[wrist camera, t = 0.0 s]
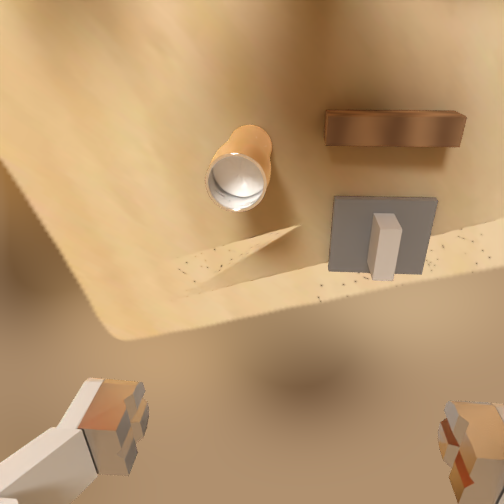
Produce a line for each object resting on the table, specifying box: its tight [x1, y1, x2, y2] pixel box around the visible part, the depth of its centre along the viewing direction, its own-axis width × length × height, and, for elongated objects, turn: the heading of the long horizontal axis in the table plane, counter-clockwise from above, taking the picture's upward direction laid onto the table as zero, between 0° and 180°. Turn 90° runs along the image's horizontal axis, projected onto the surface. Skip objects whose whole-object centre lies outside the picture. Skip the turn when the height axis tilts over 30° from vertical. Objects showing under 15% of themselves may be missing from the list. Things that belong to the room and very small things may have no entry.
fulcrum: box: [328, 196, 438, 281], centre depth 57 cm, size 12×14×6 cm
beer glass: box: [205, 125, 272, 212], centre depth 49 cm, size 7×7×15 cm
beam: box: [324, 110, 467, 147], centre depth 50 cm, size 16×4×4 cm, turn 91°
